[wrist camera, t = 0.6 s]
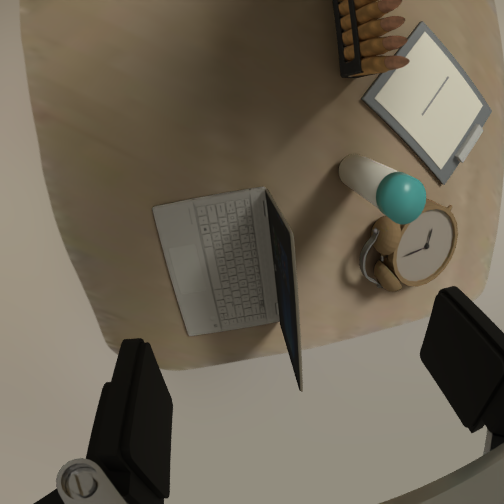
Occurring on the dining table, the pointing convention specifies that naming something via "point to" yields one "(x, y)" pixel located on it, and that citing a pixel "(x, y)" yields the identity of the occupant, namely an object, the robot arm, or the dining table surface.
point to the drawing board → (430, 103)
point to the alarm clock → (412, 247)
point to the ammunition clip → (367, 37)
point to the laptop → (232, 264)
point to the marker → (384, 187)
